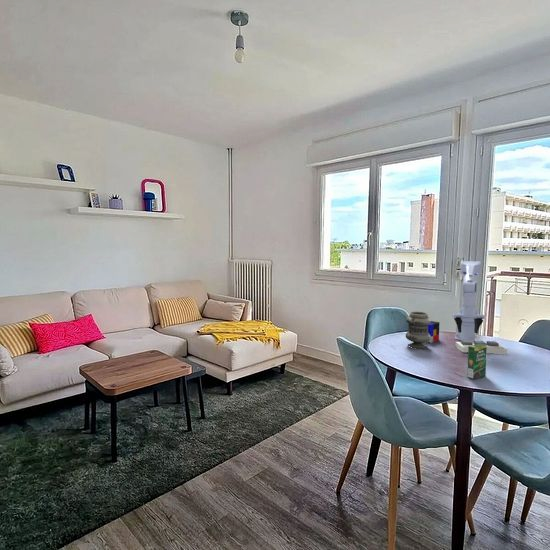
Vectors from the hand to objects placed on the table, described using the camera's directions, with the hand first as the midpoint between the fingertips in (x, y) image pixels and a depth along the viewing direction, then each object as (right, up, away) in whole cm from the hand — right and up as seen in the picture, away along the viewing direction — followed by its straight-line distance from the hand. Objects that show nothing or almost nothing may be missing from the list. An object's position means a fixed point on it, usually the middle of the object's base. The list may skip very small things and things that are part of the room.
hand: (467, 332), depth 179 cm
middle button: (+6, -7, 0) cm, 9 cm away
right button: (+12, -7, -1) cm, 14 cm away
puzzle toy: (-13, -7, +19) cm, 24 cm away
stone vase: (-23, -9, +5) cm, 25 cm away
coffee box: (-17, -12, -38) cm, 43 cm away
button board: (+6, -9, -1) cm, 10 cm away
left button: (0, -7, +1) cm, 7 cm away
